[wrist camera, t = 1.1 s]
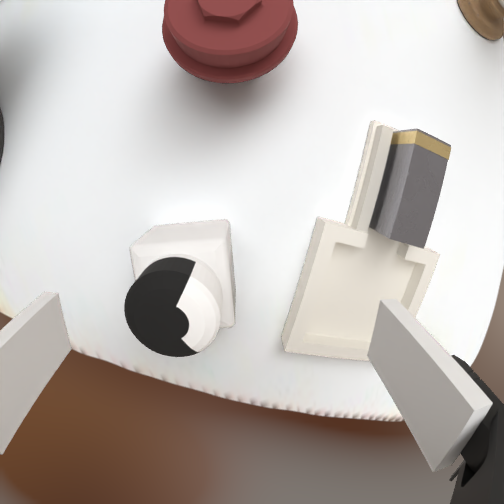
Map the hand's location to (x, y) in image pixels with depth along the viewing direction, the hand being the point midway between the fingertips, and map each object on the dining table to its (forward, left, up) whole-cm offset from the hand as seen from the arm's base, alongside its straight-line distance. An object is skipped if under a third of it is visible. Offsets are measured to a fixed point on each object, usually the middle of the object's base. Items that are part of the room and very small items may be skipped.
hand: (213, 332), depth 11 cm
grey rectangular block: (+15, +8, -19) cm, 25 cm away
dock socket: (+15, +1, -20) cm, 25 cm away
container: (-3, -4, -20) cm, 21 cm away
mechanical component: (-4, +17, -20) cm, 26 cm away
